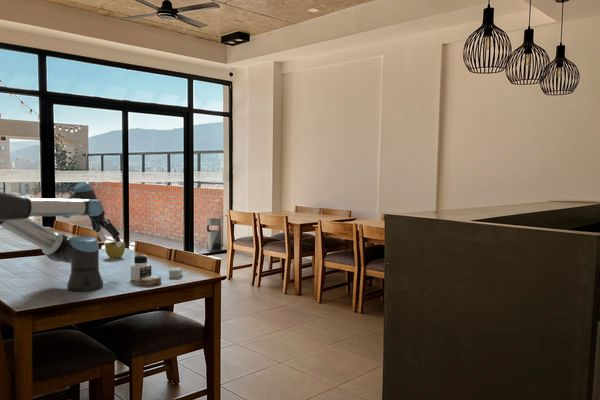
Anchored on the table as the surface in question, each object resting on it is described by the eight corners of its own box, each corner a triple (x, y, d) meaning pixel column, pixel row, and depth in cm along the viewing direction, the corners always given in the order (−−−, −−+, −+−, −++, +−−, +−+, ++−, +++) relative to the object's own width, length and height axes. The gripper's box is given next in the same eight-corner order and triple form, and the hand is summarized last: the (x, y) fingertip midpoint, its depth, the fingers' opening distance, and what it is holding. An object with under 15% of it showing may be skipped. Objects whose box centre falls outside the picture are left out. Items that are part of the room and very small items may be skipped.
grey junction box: (179, 278, 241) (179, 270, 241) (169, 278, 241) (169, 270, 241) (182, 275, 248) (182, 267, 248) (172, 275, 248) (172, 267, 248)
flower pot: (126, 257, 290) (125, 242, 290) (113, 259, 283) (113, 244, 282) (116, 255, 295) (116, 241, 294) (104, 258, 288) (104, 243, 287)
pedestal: (152, 287, 223) (152, 281, 223) (134, 285, 226) (134, 279, 226) (165, 282, 233) (165, 276, 232) (147, 280, 236) (147, 274, 236)
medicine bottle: (140, 282, 232) (139, 257, 231) (130, 279, 236) (130, 256, 235) (151, 279, 238) (151, 255, 237) (142, 277, 242) (141, 253, 241)
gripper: (115, 210, 235) (132, 243, 246) (86, 202, 249) (104, 234, 260) (103, 218, 230) (121, 252, 241) (74, 210, 244) (92, 243, 255)
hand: (112, 243), depth 250 cm, fingers open, 13 cm apart
